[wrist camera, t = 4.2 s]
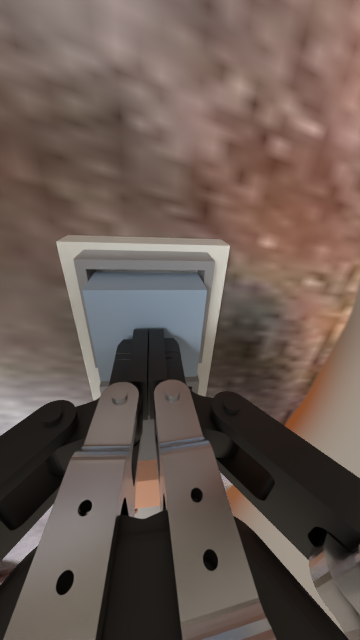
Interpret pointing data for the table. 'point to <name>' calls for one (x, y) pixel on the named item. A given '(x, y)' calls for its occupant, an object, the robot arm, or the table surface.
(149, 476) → the terracotta key
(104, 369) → the slate key
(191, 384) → the key panel
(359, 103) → the table surface
